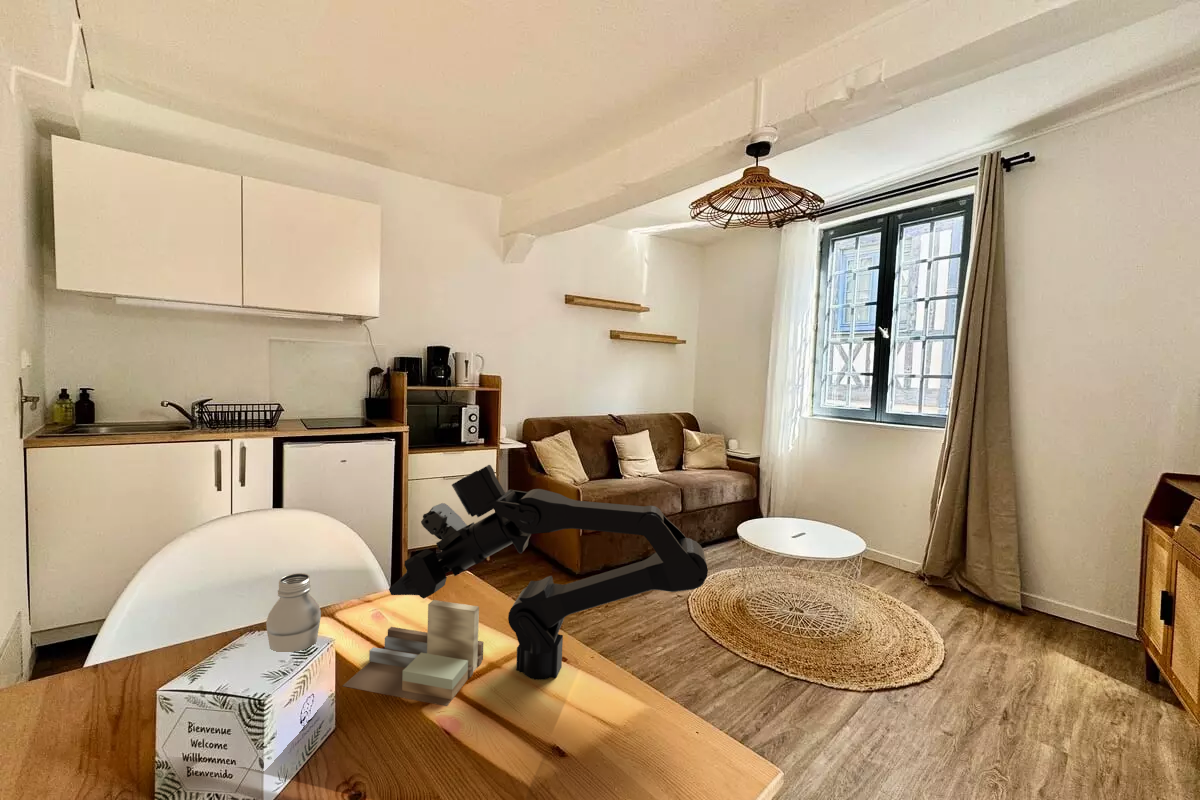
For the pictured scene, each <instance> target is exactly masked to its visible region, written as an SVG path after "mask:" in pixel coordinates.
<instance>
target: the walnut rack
mask: <svg viewBox="0 0 1200 800" xmlns="http://www.w3.org/2000/svg"><path fill="white" fill-rule="evenodd" d="M427 633H428V631H427V632H426V631H419V630H414V629H406V628H400V627H394V626H390V627H389V628H388V629H387V635H386V636H385V637H384V648H382V647H381V648H379V647H372V648H371V649H370V650H369V651H368V652H369V654H368V656H369V658H368V660H369V661H368V663H367V664H366V665H365V666H364V667H362V668H360V670H359V671H358V672H356V673H355V674H354V675H353V676H352V677H351V678H350V679H348V680H347V681H346V682H345V683H343V684H342V687H345V688H350V689H355V690H360V691H365V692H371V693H376V694H381V695H387V696H392V697H396V698H401V699H406V700H413V701H418V702H422V703H428V704H433V705H439V706H442V707H443V706H445V707H448V706H449V704H450V703H451V702H452V700H451V699H446V698H440V697H435V696H430V695H424V694H419V693H414V692H408V691H403V690H402V676H403V670H404V669H405V668H406V667H407V666H408V665H409V664H410V663H411V662H412V661H413V660H414V659H415V658H416V657H417V656H418V655H419V654H420V653H427ZM484 644H485V643H484V641H482V640H478V656H477V668H478V667H479V666H481V664H482V662H483V660H484ZM474 672H475V670H474V671H473V666H468V679H467V681H468V680H469V679H470V678H471V677H472V676H473V675H474ZM465 683H466V682H465ZM465 683H464V685H465ZM461 689H462V687H461V688H460V690H461ZM458 693H459V691H458V692H457V694H458ZM455 697H456V695H455V696H454V698H455Z"/></svg>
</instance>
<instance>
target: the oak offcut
mask: <svg viewBox="0 0 1200 800" xmlns="http://www.w3.org/2000/svg"><path fill="white" fill-rule="evenodd" d="M467 679H468V680H469V678H468V670H467V672H466V673H465V674H464V675H463V677H462V678H461V679H460V680H459V682H458V683H457V684H456V686H455V687H454V688H453V689H452V690H451V689H445V688H440V687H434V686H429V685H424V684H418V683H413V682H407V681H402V690H403V691H408V692H414V693H419V694H424V695H430V696H435V697H440V698H446V699H451V701H453V699H454V698H455V697H456V695H457V694H458V693H459V692H460V691H461V689H462V687H463V686H464V685H465V684H464V683H466V682H467V681H468V680H467ZM460 688H461V689H460ZM457 692H458V693H457ZM454 696H455V697H454Z"/></svg>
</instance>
